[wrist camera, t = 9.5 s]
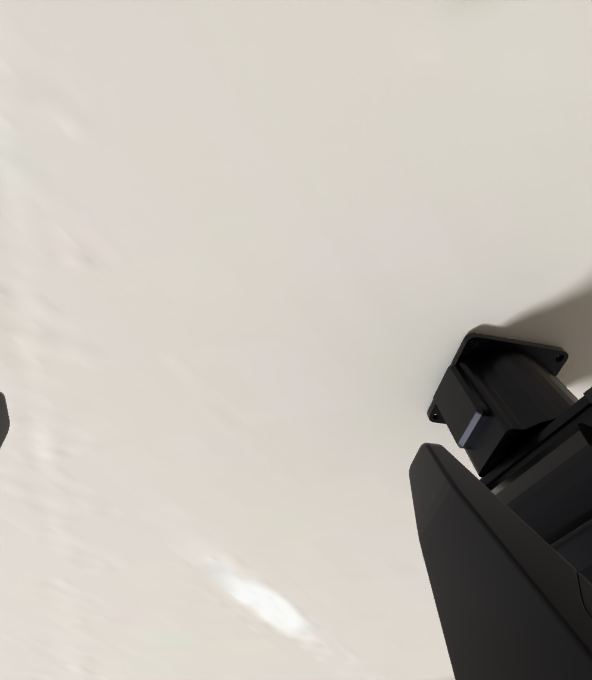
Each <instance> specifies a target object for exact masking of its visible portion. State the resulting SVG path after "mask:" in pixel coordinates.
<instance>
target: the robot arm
mask: <svg viewBox="0 0 592 680" xmlns="http://www.w3.org/2000/svg"><path fill="white" fill-rule="evenodd" d="M472 341H475V342H474V343H473V344H470V343H471V342H472ZM557 356H558V357H557ZM556 357H557V358H556ZM567 359H568V354H567V352H566V351H565V350H563V349H562V348H559V347H553V346H547V345H541V344H535V343H530V342H524V341H518V340H512V339H506V338H500V337H494V336H488V335H482V334H477V333H471V334H468V335H467V336H466V337H465V338H464V339H463V341H462V343H461V345H460V347H459V349H458V351H457V353H456V355H455V357H454V359H453V361H452V363H451V365H450V366H449V367H448V369H447V371H446V373H445V375H444V377H443V379H442V381H441V383H440V385H439V387H438V389H437V391H436V393H435V395H434V397H433V401H432V403H431V405H430V407H429V409H428V411H427V415H428V418H429V420H430V421H431V422H435V423H443V424H447V426H448V428H449V430H450V432H451V434H452V435H453V437H454V439H455V441H456V443H457V445H458V446H459V448H464V449H465V451H466V452H467V454H468V456H469V458H470V460H471V462H472V464H473V466H474V467H475V469H476V471H477V473H478V475H479V477H482V478H481V479H480V480H479V479H478V478H476V477H475V476H474V475H473V474H472V473H471V472H470V471H469V470H468V469H467V468H466V467H465V466H464V465H462V464H461V463H460V462H459V461H458V460H457V459H456V458H455V457H454V456H453V455H452V454H451V453H450V452H448V451H447V450H446V449H445V448H444V447H443V446H442V445H439V444H433V443H424V444H422V445H421V447H420V448H419V450H418V452H417V454H416V456H415V458H414V460H413V462H412V464H411V466H410V469H409V478H410V485H411V491H412V498H413V504H414V511H415V517H416V524H417V530H418V536H419V541H420V545H421V549H422V553H423V557H424V561H425V565H426V568H427V572H428V576H429V580H430V584H431V588H432V591H433V595H434V599H435V603H436V607H437V611H438V615H439V618H440V622H441V626H442V630H443V634H444V638H445V641H446V645H447V649H448V653H449V657H450V661H451V665H452V668H453V672H454V676H455V680H592V387H591V388H590V389H588V390H587V391H586V392H585V393H583V394H584V396H583V397H582V398H581V399H579V400H578V399H577V398H576V397H575V396H574V395H573V394H572V393H571V392H570V391H569V390H568V389H567V388H566V387H565V385H564V384H563V383H562V382H561V381H560V380H559V379H558V378H557V377H556V375H557V374H558V372H559V371H560V369H561V368H562V366H563V365H564V363H565V362H566V361H567ZM434 414H436V415H434ZM9 426H10V420H9V415H8V410H7V404H6V399H5V396H4V394H3V393H2V392H0V448H1V446H2V444H3V442H4V440H5V438H6V436H7V433H8V431H9Z"/></svg>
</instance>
